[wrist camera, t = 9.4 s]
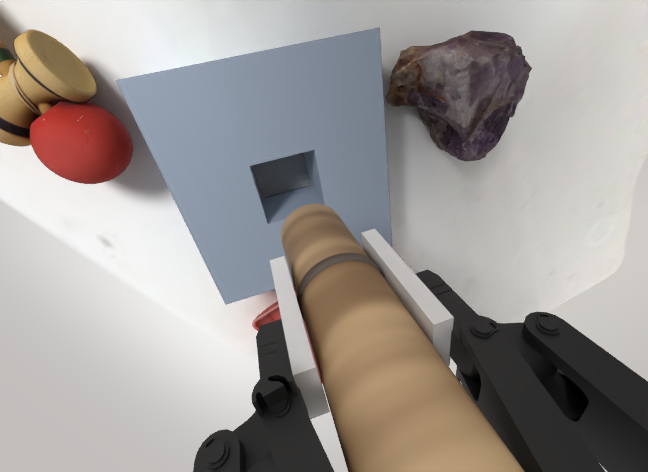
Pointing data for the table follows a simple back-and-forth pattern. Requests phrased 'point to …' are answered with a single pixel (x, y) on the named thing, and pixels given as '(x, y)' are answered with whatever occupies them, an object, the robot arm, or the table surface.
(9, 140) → the kendama
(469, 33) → the rock
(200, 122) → the board
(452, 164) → the table surface
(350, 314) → the peg
